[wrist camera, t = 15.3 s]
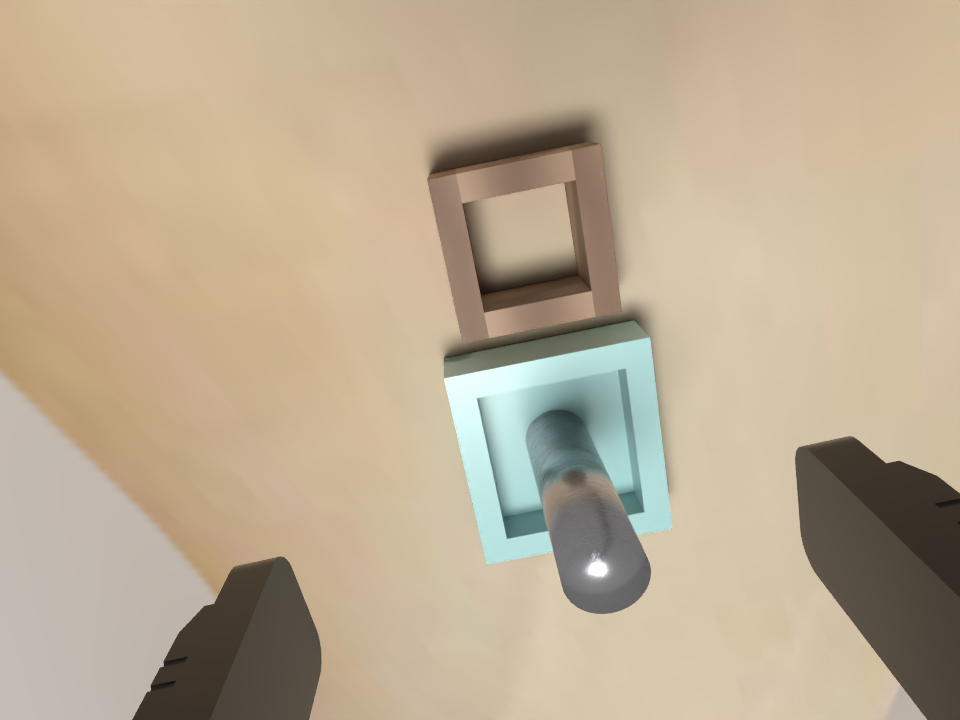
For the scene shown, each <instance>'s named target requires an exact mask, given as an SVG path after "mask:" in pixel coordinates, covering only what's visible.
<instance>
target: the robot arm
mask: <svg viewBox="0 0 960 720" xmlns="http://www.w3.org/2000/svg"><path fill="white" fill-rule="evenodd" d="M795 464H796V477H797V490H798V504H799V517H800V530H801V537H802V542H803V546H804V549H805V552H806V555H807V557H808V559H809V562H810V564H811V566H812V568H813V570H814V571H815V573H816V574H817V576H818V577H819V578H820V580H821V581H822V582H823V584H824V585H825V586H826V588H827V589H828V590H829V592H830V593H831V594H832V595H833V597H834V598H835V599H836V601H837V602H838V603H839V605H840V606H841V607H842V609H843V610H844V611H845V612H846V614H847V615H848V616H849V618H850V619H851V620H852V622H853V623H854V624H855V626H856V627H857V628H858V630H859V631H860V632H861V633H862V635H863V636H864V637H865V639H866V640H867V641H868V643H869V644H870V645H871V647H872V648H873V649H874V650H875V652H876V653H877V654H878V656H879V657H880V658H881V660H882V661H883V662H884V664H885V665H886V666H887V667H888V669H889V670H890V671H891V673H892V674H893V675H894V677H895V678H896V679H897V681H898V682H899V683H900V685H901V686H902V687H903V688H904V690H905V691H906V692H907V693H908V695H909V696H910V697H911V699H912V700H913V702H914V703H915V704H916V705H917V707H918V708H919V709H920V711H921V712H922V713H923V715H924V716H925V717H926V718H927V720H960V493H958V492H957V491H956V490H955V489H953V488H952V487H951V486H949V485H948V484H947V483H946V482H944V481H943V480H942V479H940V478H939V477H938V476H936V475H933V474H931V473H928V472H926V471H923V470H921V469H918V468H916V467H913V466H911V465H908V464H906V463H903V462H901V461H896V462H891V463H885V462H884V461H883V460H881V459H880V458H879V457H878V456H877V455H875V454H874V453H873V452H872V451H871V450H869V449H868V448H867V447H866V446H865V445H863V444H862V443H861V442H860V441H859V440H857V439H856V438H854V437H850V436H848V437H844V438H839V439H834V440H830V441H825V442H820V443H816V444H811V445H806V446H802V447H799V448H798V449H797V451H796V457H795ZM320 672H321V647H320V641H319V637H318V633H317V630H316V627H315V625H314V622H313V620H312V617H311V615H310V612H309V610H308V607H307V605H306V602H305V600H304V597H303V595H302V592H301V590H300V587H299V585H298V582H297V580H296V577H295V575H294V572H293V570H292V567H291V565H290V563H289V562H288V561H287V559H285V558H284V557H276V558H272V559H267V560H262V561H258V562H253V563H248V564H244V565H239V566H236V567H234V568H233V569H232V570H231V571H230V573H229V575H228V577H227V579H226V581H225V583H224V585H223V587H222V589H221V591H220V593H219V595H218V597H217V599H216V601H215V603H214V604H212V605H207V606H204V607H203V608H202V609H201V610H200V611H199V612H198V613H197V615H196V616H195V617H194V618H193V619H192V620H191V621H190V622H189V623H188V624H187V625H186V626H185V627H184V628H183V629H182V630H181V631H180V632H179V634H178V636H177V637H176V639H175V641H174V643H173V645H172V647H171V649H170V651H169V652H168V654H167V656H166V658H165V660H164V667H161V668H160V669H159V671H158V673H157V675H156V676H155V678H154V680H153V682H152V684H151V691H150V692H147V693H146V695H145V697H144V699H143V701H142V703H141V704H140V706H139V708H138V710H137V712H136V714H135V716H134V718H133V719H132V720H309V717H310V713H311V709H312V705H313V701H314V697H315V693H316V689H317V685H318V681H319V677H320Z"/></svg>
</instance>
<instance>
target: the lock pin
mask: <svg viewBox="0 0 960 720" xmlns="http://www.w3.org/2000/svg"><path fill="white" fill-rule="evenodd" d="M526 446H527V450H528V454H529V458H530V462H531V466H532V469H533V473H534V477H535V481H536V485H537V489H538V493H539V497H540V501H541V505H542V509H543V513H544V517H545V521H546V525H547V528H548V532H549V536H550V540H551V544H552V548H553V552H554V556H555V560H556V564H557V568H558V572H559V576H560V580H561V584H562V587H563V591H564V593H565V595H566V596H567V598H568V599H569V600H570V602H571V603H573V604H574V605H575V606H576V607H578V608H580V609H582V610H584V611H587V612H591V613H597V614H607V613H613V612H617V611H620V610H623V609H625V608H627V607H629V606H630V605H632V604H633V603H635V602H636V601H637V600H638V599H639V598H640V597H641V596H642V595H643V593H644V592H645V590H646V589H647V587H648V584H649V581H650V576H651V568H650V563H649V561H648V558H647V556H646V554H645V552H644V550H643V547H642V545H641V543H640V541H639V539H638V537H637V535H636V532H635V530H634V528H633V526H632V524H631V522H630V520H629V517H628V515H627V513H626V511H625V509H624V507H623V505H622V502H621V500H620V498H619V496H618V494H617V492H616V490H615V487H614V485H613V483H612V481H611V479H610V477H609V475H608V472H607V470H606V468H605V466H604V464H603V462H602V460H601V457H600V455H599V453H598V451H597V449H596V447H595V445H594V442H593V440H592V438H591V436H590V434H589V432H588V430H587V427H586V425H585V424H584V422H583V421H582V419H581V418H580V417H578V416H577V415H576V414H574V413H572V412H569V411H566V410H552V411H548V412H545V413H543V414H541V415H540V416H538V417H537V418H536V419H535V420H534V421H533V422H532V423H531V425H530V426H529V428H528V431H527V434H526Z"/></svg>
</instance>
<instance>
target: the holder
mask: <svg viewBox="0 0 960 720" xmlns="http://www.w3.org/2000/svg"><path fill="white" fill-rule="evenodd" d="M559 183H565V190H566V196H567V203H568V210H569V217H570V223H571V230H572V237H573V243H574V250H575V257H576V264H577V270H578V275H577V276H572V277H567V278H562V279H557V280H553V281H548V282H543V283H538V284H533V285H528V286H523V287H518V288H513V289H508V290H503V291H498V292H493V293H488V294H483V295H480V290H479V285H478V280H477V275H476V270H475V265H474V260H473V255H472V250H471V245H470V240H469V235H468V230H467V225H466V220H465V215H464V210H463V205H462V203H467V202H471V201H476V200H481V199H486V198H491V197H496V196H501V195H506V194H510V193H515V192H520V191H525V190H530V189H535V188H540V187H544V186H549V185H554V184H559ZM428 185H429V190H430V194H431V199H432V203H433V208H434V213H435V217H436V222H437V227H438V231H439V236H440V241H441V245H442V250H443V254H444V259H445V264H446V268H447V273H448V278H449V282H450V287H451V292H452V296H453V301H454V305H455V310H456V315H457V319H458V324H459V329H460V333H461V338H462V343H468V342H473V341H478V340H483V339H488V338H493V337H498V336H503V335H508V334H513V333H518V332H523V331H528V330H533V329H538V328H543V327H548V326H553V325H558V324H563V323H568V322H573V321H578V320H583V319H588V318H593V317H598V316H602V315H607V314H612V313H617V312H622V307H621V300H620V292H619V284H618V276H617V269H616V261H615V253H614V245H613V238H612V230H611V222H610V215H609V207H608V199H607V191H606V184H605V176H604V168H603V160H602V153H601V145H600V144H595V143H589V142H582V143H578V144H573V145H568V146H563V147H558V148H553V149H549V150H544V151H539V152H534V153H529V154H524V155H520V156H515V157H510V158H505V159H500V160H495V161H491V162H486V163H481V164H476V165H471V166H466V167H462V168H457V169H452V170H447V171H442V172H437V173H433V174H429V177H428Z"/></svg>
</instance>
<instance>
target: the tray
mask: <svg viewBox="0 0 960 720" xmlns="http://www.w3.org/2000/svg"><path fill="white" fill-rule="evenodd" d="M444 381H445V386H446V390H447V394H448V399H449V403H450V407H451V412H452V416H453V420H454V425H455V429H456V433H457V438H458V442H459V446H460V451H461V455H462V459H463V464H464V468H465V472H466V477H467V481H468V486H469V490H470V494H471V499H472V503H473V507H474V512H475V516H476V520H477V525H478V529H479V533H480V538H481V542H482V546H483V551H484V555H485V559H486V564H487V565H488V564H493V563H499V562H504V561H509V560H514V559H519V558H524V557H529V556H534V555H540V554H545V553H550V552H553V548H552V544H551V540H550V536H549V532H548V528H547V525H546V521H545V517H544V513H543V509H542V505H541V501H540V497H539V493H538V489H537V485H536V481H535V477H534V473H533V469H532V466H531V462H530V458H529V454H528V450H527V446H526V434H527V431H528V428H529V426H530V425H531V423H532V422H533V421H534V420H535V419H536V418H537V417H538V416H540V415H541V414H543V413H545V412H548V411H552V410H566V411H569V412H572V413H574V414H576V415H577V416H578V417H580V418H581V419H582V421H583V422H584V424H585V425H586V427H587V430H588V432H589V434H590V436H591V438H592V440H593V442H594V445H595V447H596V449H597V451H598V453H599V455H600V457H601V460H602V462H603V464H604V466H605V468H606V470H607V472H608V475H609V477H610V479H611V481H612V483H613V485H614V487H615V490H616V492H617V494H618V496H619V498H620V500H621V502H622V505H623V507H624V509H625V511H626V513H627V515H628V517H629V520H630V522H631V524H632V526H633V528H634V530H635V532H636V535H642V534H648V533H653V532H658V531H663V530H668V529H672V522H671V513H670V504H669V496H668V487H667V478H666V470H665V461H664V453H663V444H662V435H661V427H660V418H659V410H658V401H657V392H656V384H655V375H654V367H653V358H652V349H651V341H650V337H649V336H648V334H647V333H646V332H645V331H644V330H643V329H642V328H641V327H640V326H639V325H638V324H637V323H636V322H635V321H634V320H633V321H628V322H623V323H618V324H613V325H608V326H603V327H598V328H593V329H588V330H583V331H578V332H573V333H568V334H563V335H558V336H553V337H548V338H543V339H538V340H533V341H528V342H523V343H518V344H513V345H508V346H503V347H498V348H493V349H488V350H483V351H478V352H473V353H468V354H463V355H458V356H454V357H449V358H444Z"/></svg>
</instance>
